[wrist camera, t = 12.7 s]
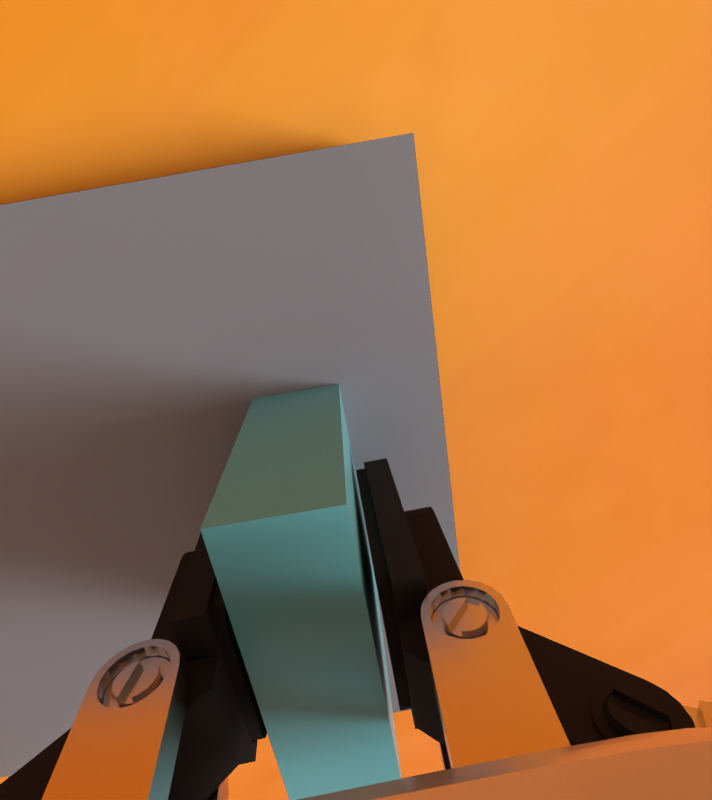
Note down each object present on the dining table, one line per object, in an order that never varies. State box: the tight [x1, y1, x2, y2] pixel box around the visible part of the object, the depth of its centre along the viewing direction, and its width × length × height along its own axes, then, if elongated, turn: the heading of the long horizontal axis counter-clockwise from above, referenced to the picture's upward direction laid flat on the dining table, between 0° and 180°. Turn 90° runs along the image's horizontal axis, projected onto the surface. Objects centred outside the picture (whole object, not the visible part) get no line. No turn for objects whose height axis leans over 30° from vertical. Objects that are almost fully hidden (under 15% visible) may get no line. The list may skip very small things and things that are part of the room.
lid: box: [0, 133, 460, 800], centre depth 11 cm, size 16×20×7 cm
